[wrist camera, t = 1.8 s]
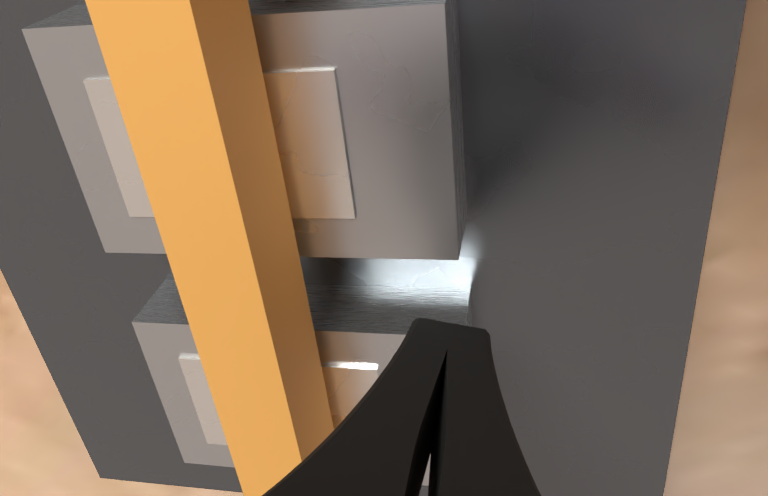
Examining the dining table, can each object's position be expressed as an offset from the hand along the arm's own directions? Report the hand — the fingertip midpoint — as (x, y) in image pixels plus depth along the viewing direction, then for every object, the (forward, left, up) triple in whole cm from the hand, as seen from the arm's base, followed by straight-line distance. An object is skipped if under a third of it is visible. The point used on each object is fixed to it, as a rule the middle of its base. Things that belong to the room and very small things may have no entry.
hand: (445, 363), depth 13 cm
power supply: (+4, -4, -5) cm, 7 cm away
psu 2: (+4, +3, -5) cm, 7 cm away
